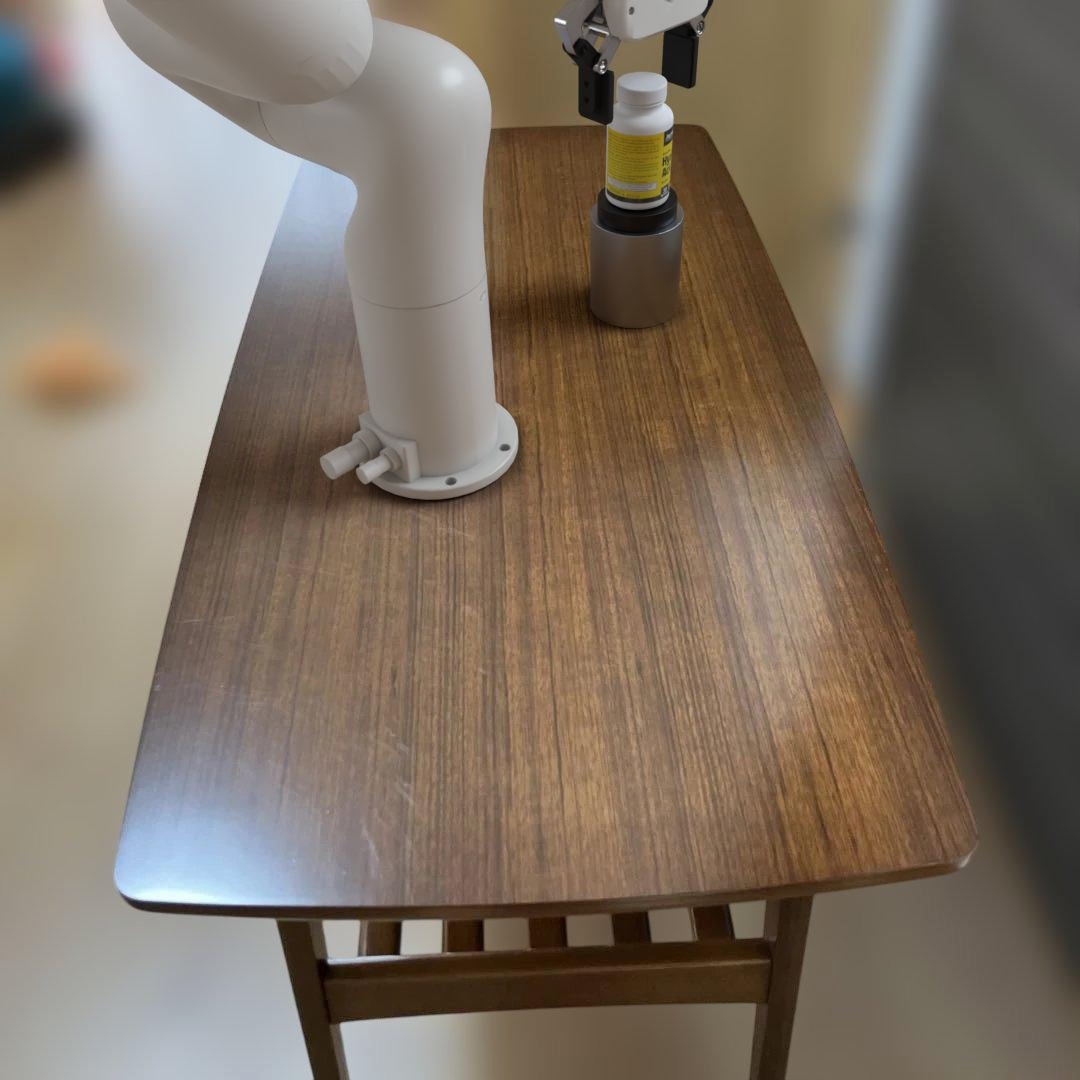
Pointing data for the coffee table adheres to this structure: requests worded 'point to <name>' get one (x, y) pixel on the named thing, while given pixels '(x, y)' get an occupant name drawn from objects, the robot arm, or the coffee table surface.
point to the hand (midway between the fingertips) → (637, 101)
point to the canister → (635, 262)
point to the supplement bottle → (639, 143)
